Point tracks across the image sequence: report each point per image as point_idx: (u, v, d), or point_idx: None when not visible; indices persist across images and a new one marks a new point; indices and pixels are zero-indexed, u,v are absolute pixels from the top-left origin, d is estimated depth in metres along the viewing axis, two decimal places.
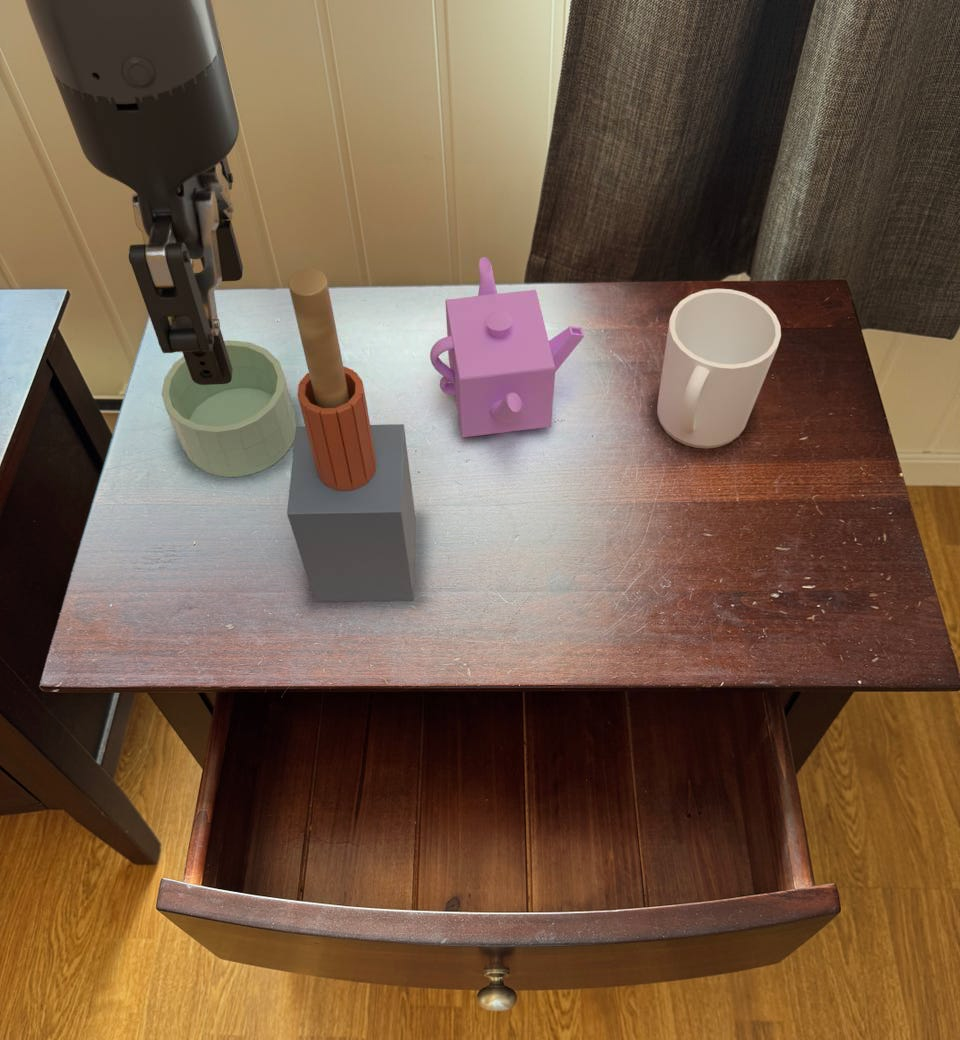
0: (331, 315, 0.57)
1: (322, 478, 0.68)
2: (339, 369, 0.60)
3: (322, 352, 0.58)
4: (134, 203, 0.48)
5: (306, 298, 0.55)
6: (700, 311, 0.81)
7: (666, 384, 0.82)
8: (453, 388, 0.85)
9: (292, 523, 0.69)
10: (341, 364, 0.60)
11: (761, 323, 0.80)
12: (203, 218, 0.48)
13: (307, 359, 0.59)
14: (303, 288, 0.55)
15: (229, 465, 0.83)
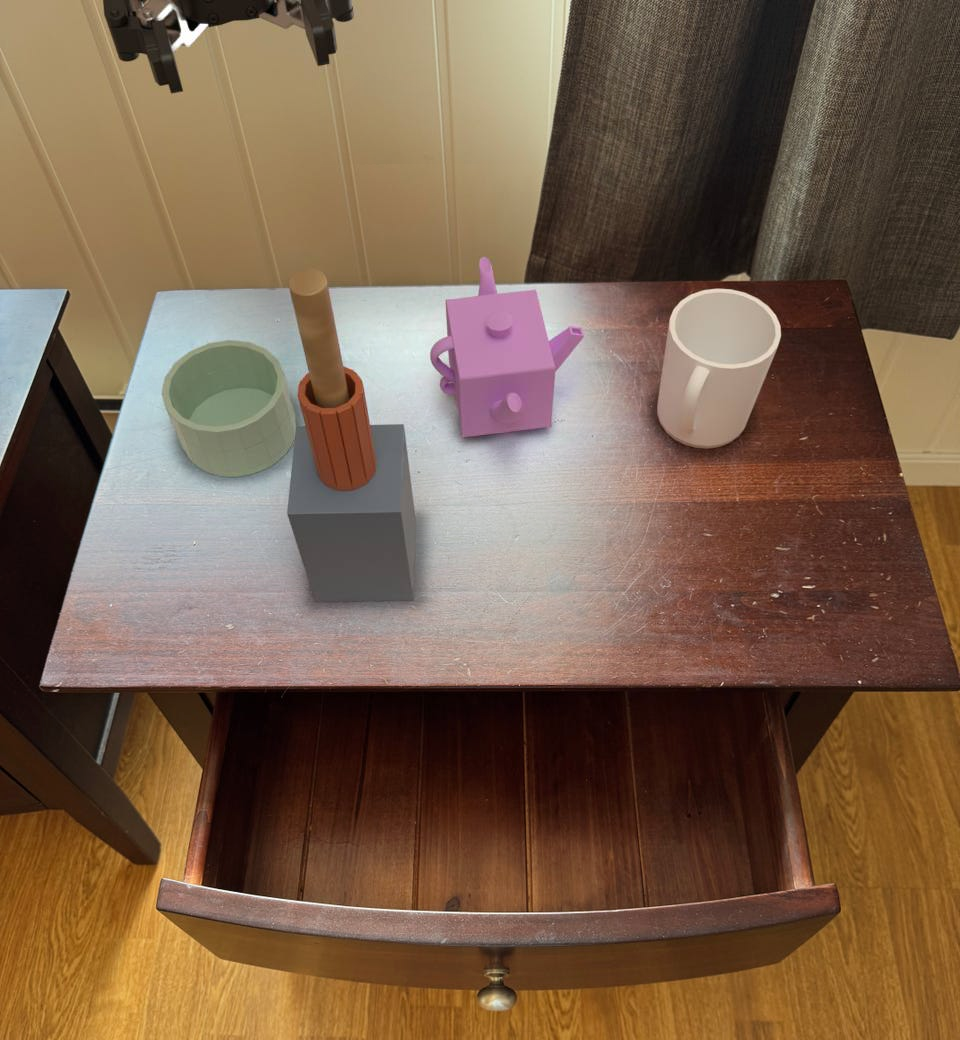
0: (331, 315, 0.57)
1: (322, 478, 0.68)
2: (339, 369, 0.60)
3: (322, 352, 0.58)
4: None
5: (306, 298, 0.55)
6: (700, 311, 0.81)
7: (666, 384, 0.82)
8: (453, 388, 0.85)
9: (292, 523, 0.69)
10: (341, 364, 0.60)
11: (761, 323, 0.80)
12: None
13: (307, 359, 0.59)
14: (303, 288, 0.55)
15: (229, 465, 0.83)
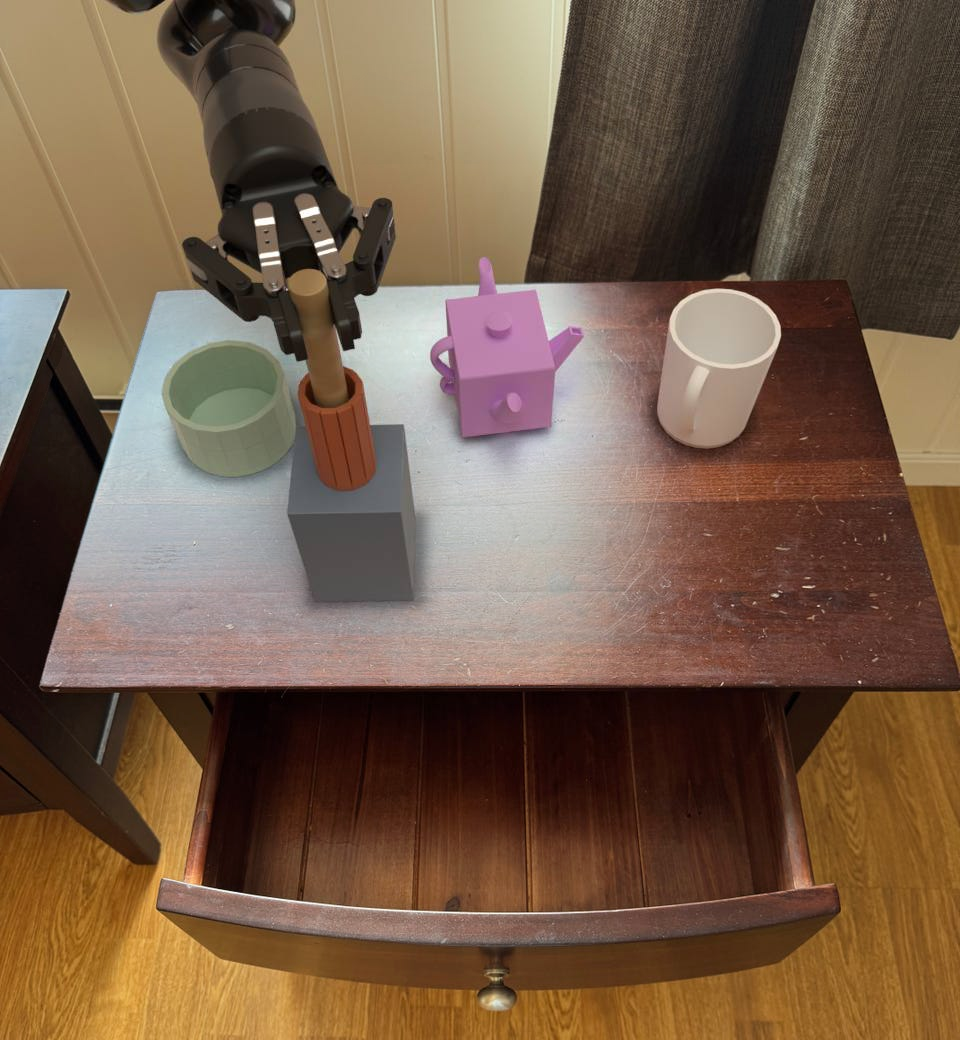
0: (331, 315, 0.57)
1: (322, 478, 0.68)
2: (339, 369, 0.60)
3: (322, 352, 0.58)
4: (313, 197, 0.59)
5: (306, 298, 0.55)
6: (700, 311, 0.81)
7: (666, 384, 0.82)
8: (453, 388, 0.85)
9: (292, 523, 0.69)
10: (341, 364, 0.60)
11: (761, 323, 0.80)
12: None
13: None
14: (303, 288, 0.55)
15: (229, 465, 0.83)
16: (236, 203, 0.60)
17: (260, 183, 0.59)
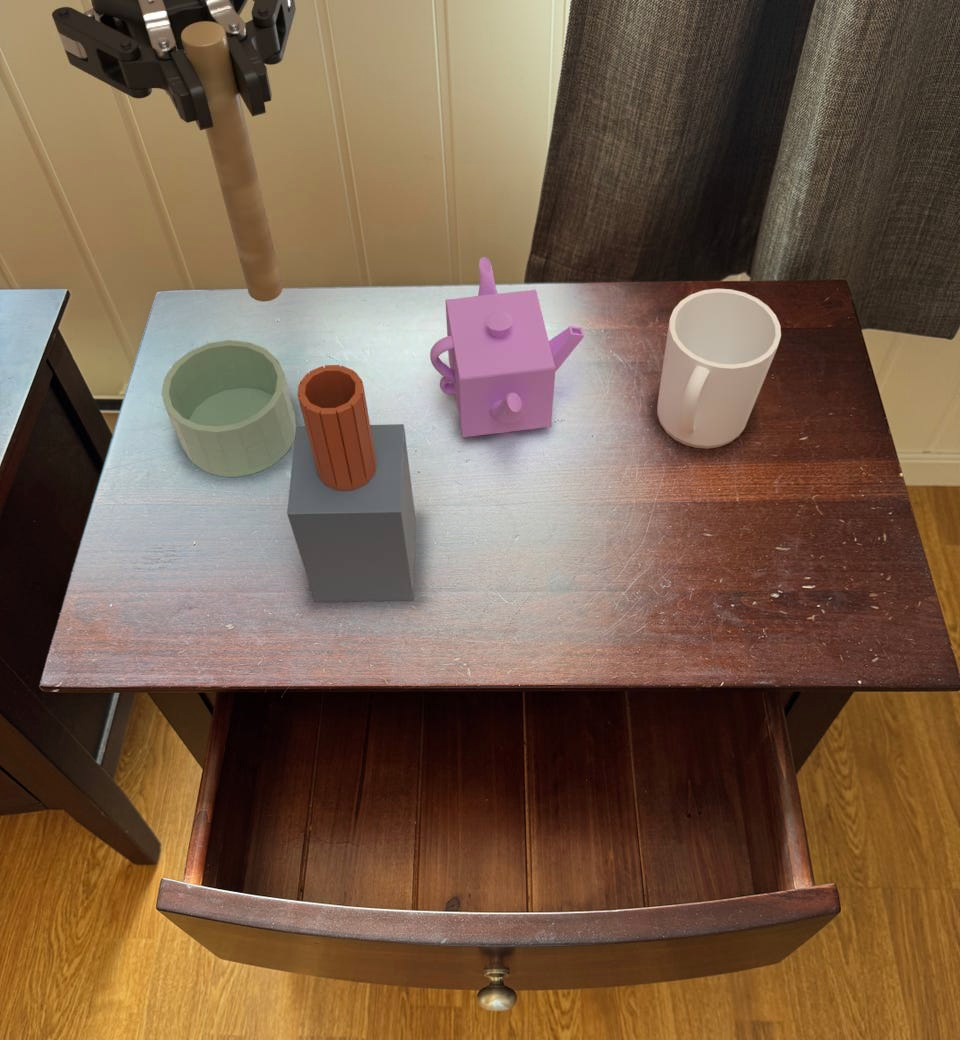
0: (234, 79, 0.50)
1: (322, 478, 0.68)
2: (249, 155, 0.54)
3: (228, 128, 0.52)
4: None
5: (204, 50, 0.48)
6: (700, 311, 0.81)
7: (666, 384, 0.82)
8: (453, 388, 0.85)
9: (292, 523, 0.69)
10: (250, 150, 0.54)
11: (761, 323, 0.80)
12: None
13: (211, 142, 0.52)
14: (199, 39, 0.48)
15: (229, 465, 0.83)
16: None
17: None
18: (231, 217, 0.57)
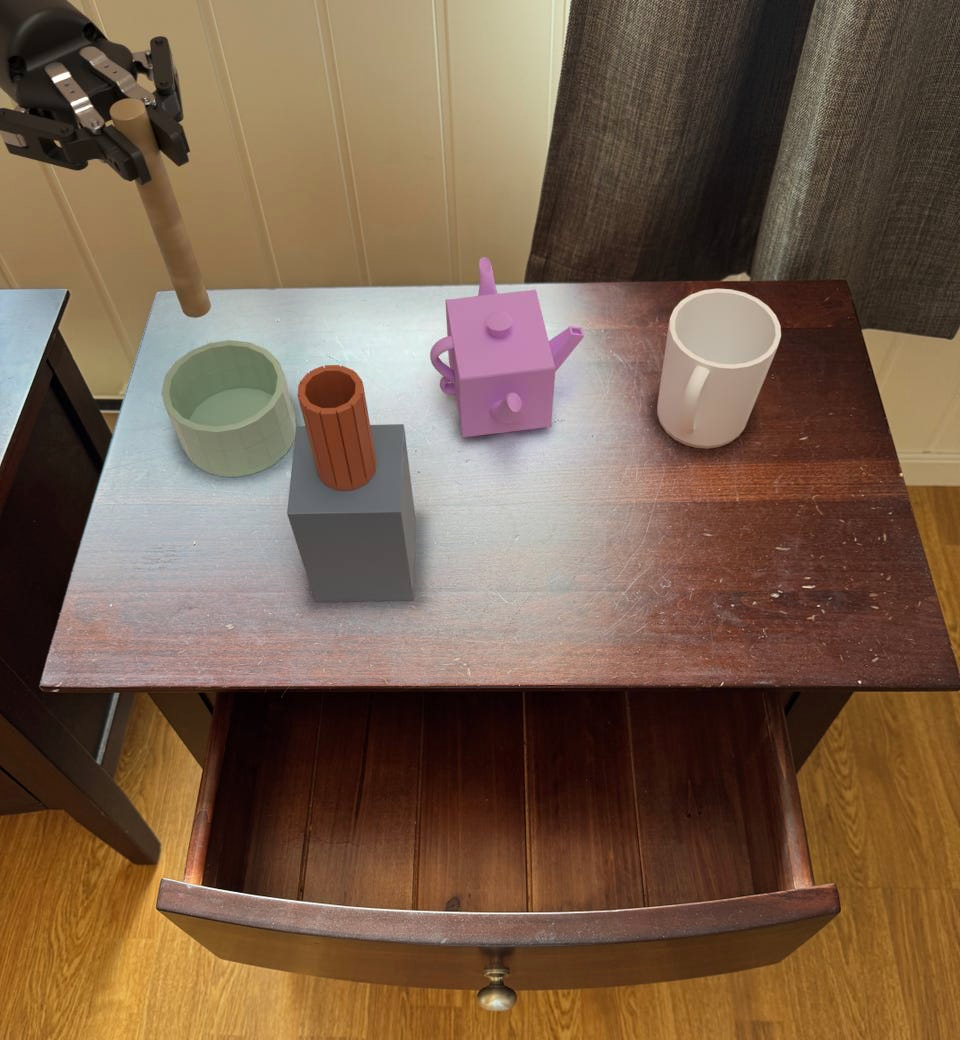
0: (155, 140, 0.62)
1: (322, 478, 0.68)
2: (173, 198, 0.66)
3: (157, 180, 0.64)
4: (95, 48, 0.64)
5: (132, 121, 0.60)
6: (700, 311, 0.81)
7: (666, 384, 0.82)
8: (453, 388, 0.85)
9: (292, 523, 0.69)
10: (173, 194, 0.66)
11: (761, 323, 0.80)
12: None
13: (143, 194, 0.65)
14: (126, 114, 0.60)
15: (229, 465, 0.83)
16: (24, 74, 0.64)
17: (40, 50, 0.64)
18: (165, 252, 0.69)
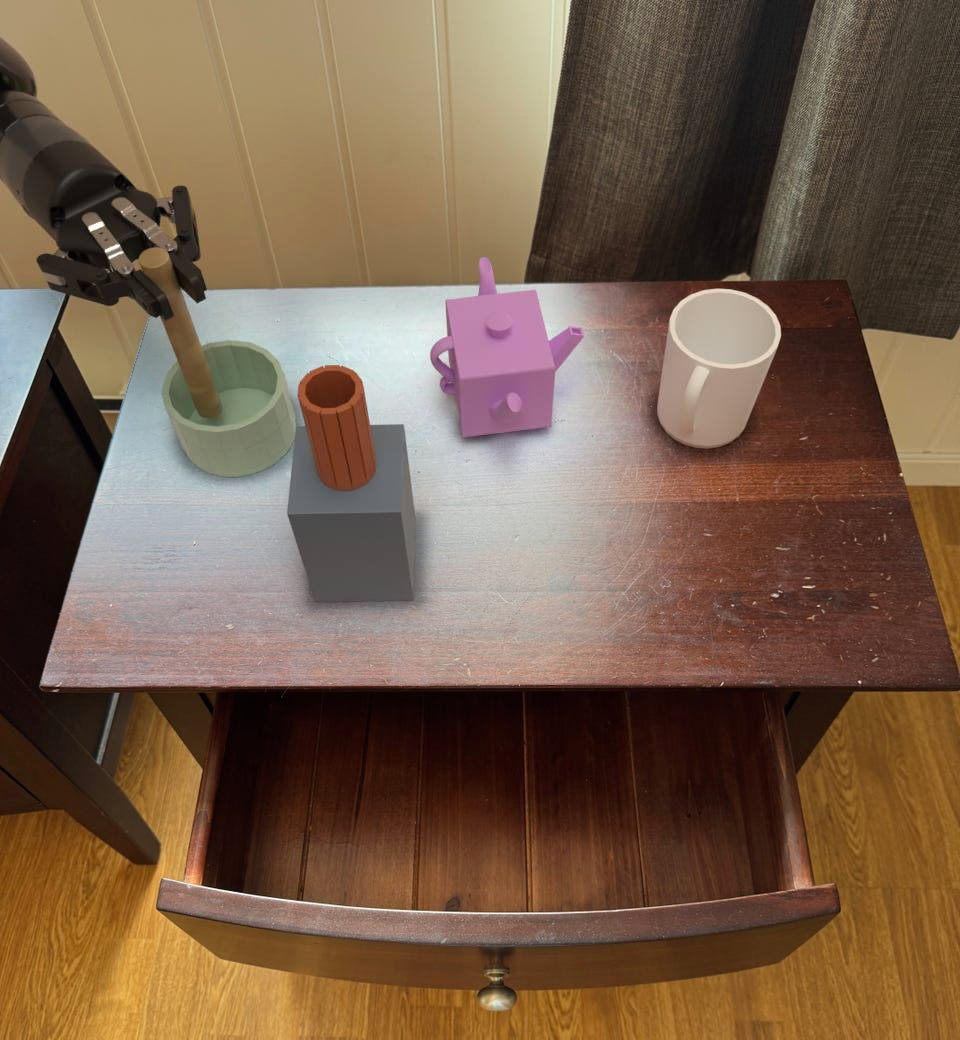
0: (177, 280, 0.72)
1: (322, 478, 0.68)
2: (192, 325, 0.76)
3: (178, 312, 0.74)
4: (125, 199, 0.74)
5: (158, 268, 0.70)
6: (700, 311, 0.81)
7: (666, 384, 0.82)
8: (453, 388, 0.85)
9: (292, 523, 0.69)
10: None
11: (761, 323, 0.80)
12: None
13: (166, 323, 0.75)
14: (153, 262, 0.70)
15: (229, 465, 0.83)
16: (63, 221, 0.74)
17: (77, 200, 0.74)
18: (183, 367, 0.79)
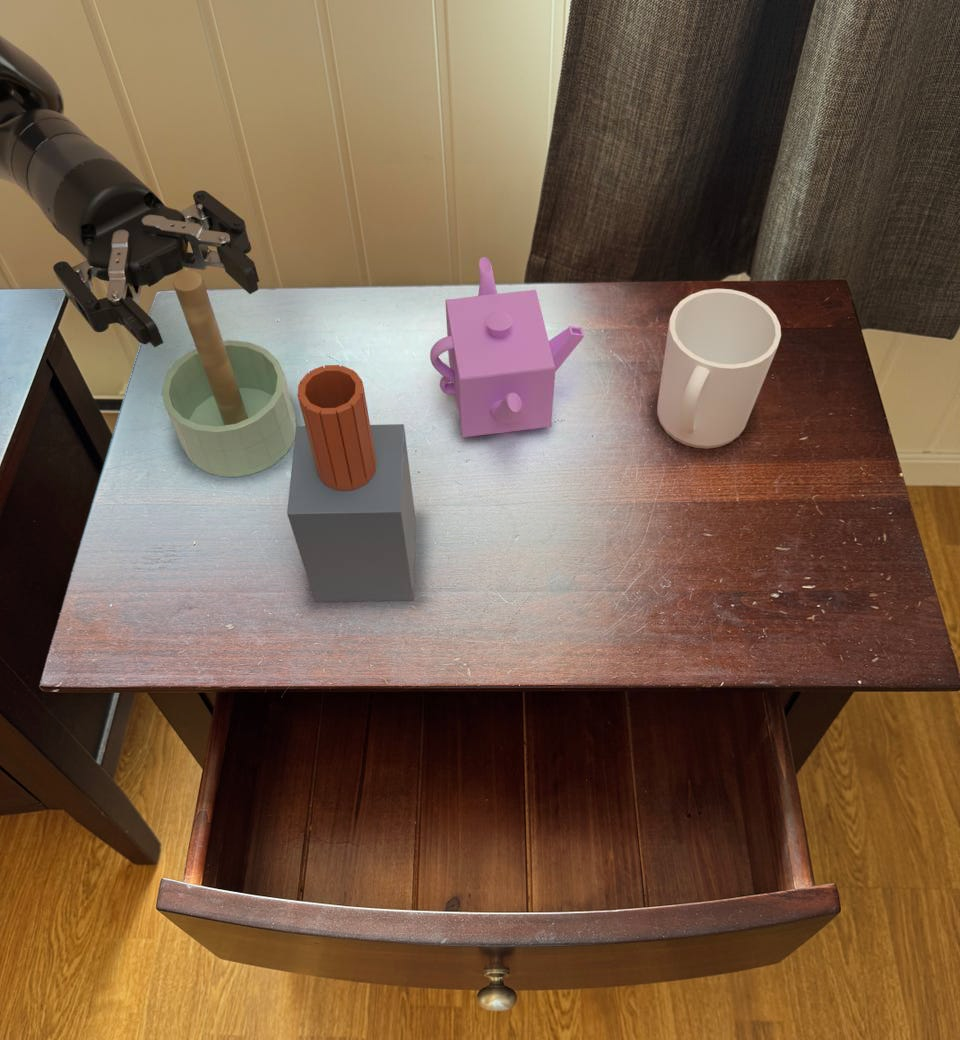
0: (209, 302, 0.74)
1: (322, 478, 0.68)
2: (222, 344, 0.78)
3: (209, 333, 0.75)
4: (151, 216, 0.75)
5: (192, 291, 0.72)
6: (700, 311, 0.81)
7: (666, 384, 0.82)
8: (453, 388, 0.85)
9: (292, 523, 0.69)
10: (222, 340, 0.78)
11: (761, 323, 0.80)
12: None
13: (198, 343, 0.76)
14: (187, 285, 0.72)
15: (229, 465, 0.83)
16: (94, 238, 0.75)
17: (108, 218, 0.75)
18: (213, 385, 0.80)
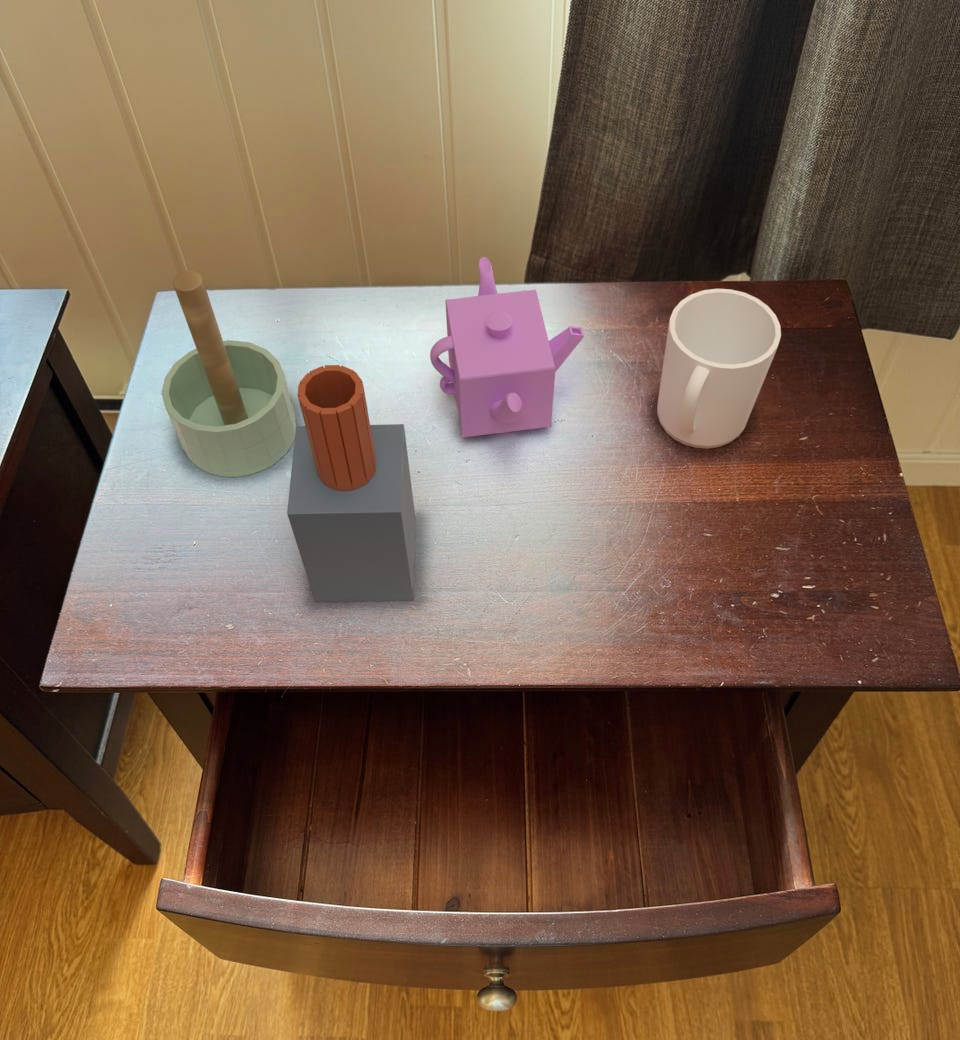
0: (209, 302, 0.74)
1: (322, 478, 0.68)
2: (222, 344, 0.78)
3: (209, 333, 0.75)
4: None
5: (192, 291, 0.72)
6: (700, 311, 0.81)
7: (666, 384, 0.82)
8: (453, 388, 0.85)
9: (292, 523, 0.69)
10: (222, 340, 0.78)
11: (761, 323, 0.80)
12: None
13: (198, 343, 0.76)
14: (187, 285, 0.72)
15: (229, 465, 0.83)
16: None
17: None
18: (213, 385, 0.80)
